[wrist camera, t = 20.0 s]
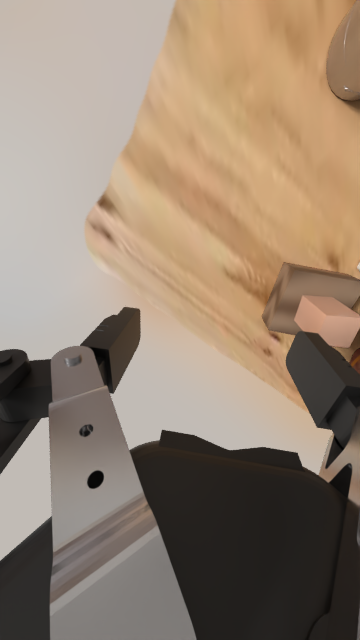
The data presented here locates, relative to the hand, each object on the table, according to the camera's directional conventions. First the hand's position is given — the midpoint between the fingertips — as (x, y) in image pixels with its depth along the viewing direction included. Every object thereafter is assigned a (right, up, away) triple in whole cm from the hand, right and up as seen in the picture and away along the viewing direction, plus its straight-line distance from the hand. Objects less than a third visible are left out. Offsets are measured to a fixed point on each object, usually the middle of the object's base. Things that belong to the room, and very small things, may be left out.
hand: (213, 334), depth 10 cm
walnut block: (+23, +6, +31) cm, 39 cm away
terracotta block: (+22, +3, +26) cm, 34 cm away
